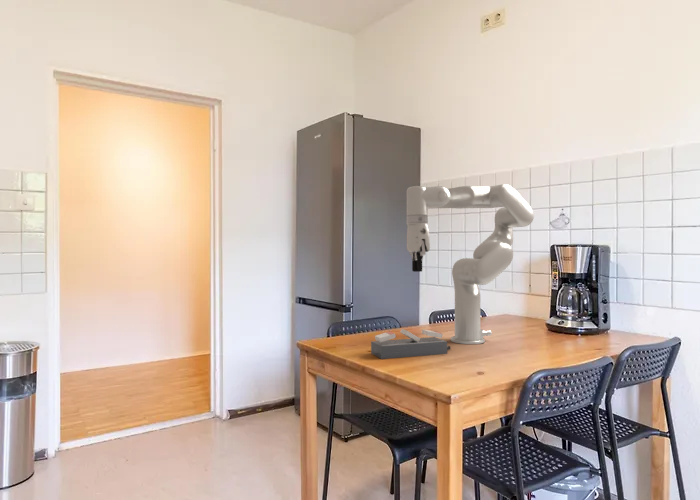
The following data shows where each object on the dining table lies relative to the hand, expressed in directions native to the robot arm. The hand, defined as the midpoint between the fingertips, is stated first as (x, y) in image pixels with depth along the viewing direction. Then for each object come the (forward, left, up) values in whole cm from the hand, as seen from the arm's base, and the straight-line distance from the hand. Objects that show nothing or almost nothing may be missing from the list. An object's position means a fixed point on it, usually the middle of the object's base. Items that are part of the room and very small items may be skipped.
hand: (417, 271), depth 176 cm
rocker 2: (+8, +10, -22) cm, 25 cm away
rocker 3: (0, +10, -22) cm, 24 cm away
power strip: (+6, +10, -27) cm, 30 cm away
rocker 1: (+16, +10, -22) cm, 29 cm away
